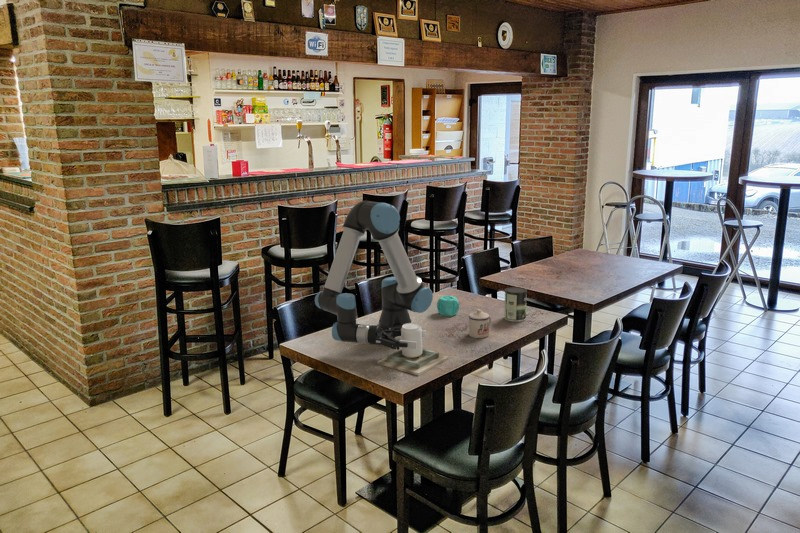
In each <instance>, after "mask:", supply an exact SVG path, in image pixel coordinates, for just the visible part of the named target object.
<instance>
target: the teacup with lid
mask: <svg viewBox="0 0 800 533" xmlns="http://www.w3.org/2000/svg"><path fill="white" fill-rule="evenodd" d="M491 324H492V317H490V314H489V313H487V312H484V311H483V310H482V309H480V308H478V309H476V311H474V312H471V313H469V315H468V335H469V336H470V337H472V338H473V339H484V338H488V337H489V336H490V326H491Z"/></svg>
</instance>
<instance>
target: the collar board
mask: <svg viewBox="0 0 800 533" xmlns="http://www.w3.org/2000/svg"><path fill="white" fill-rule="evenodd" d="M448 360H449V356H448V355H445V354H440V352H437V351H433V350H429V349H426V348H422V354H421V355H420V356H418V357H413V358H410V357H406V356H404V355H403V354H402V348H400V349H399V350H396V352H395V351H394V352H393V353H391V354H387V356H386V357H383V358H381V359H380V360H377V365H381V366H385V367H388V368H391V369H395V370H398V371H402V372H405V373H408V374H411V375H415V376H418V377H419V376H421V375H423V374H425V373H426V372H428V371H430V370H432V369H434V368H436V367H437V366H439V365H441V364H442V363H444V362H446V361H448Z"/></svg>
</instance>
